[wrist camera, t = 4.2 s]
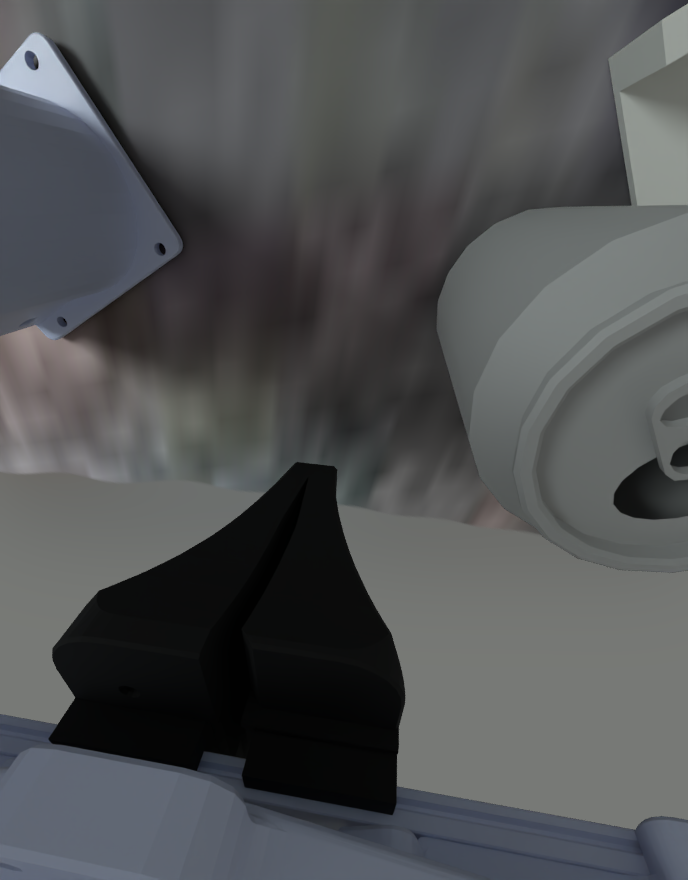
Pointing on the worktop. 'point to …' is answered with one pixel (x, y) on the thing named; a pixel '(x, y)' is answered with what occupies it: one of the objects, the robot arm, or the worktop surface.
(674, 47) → the tray
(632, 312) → the can
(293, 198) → the worktop surface
